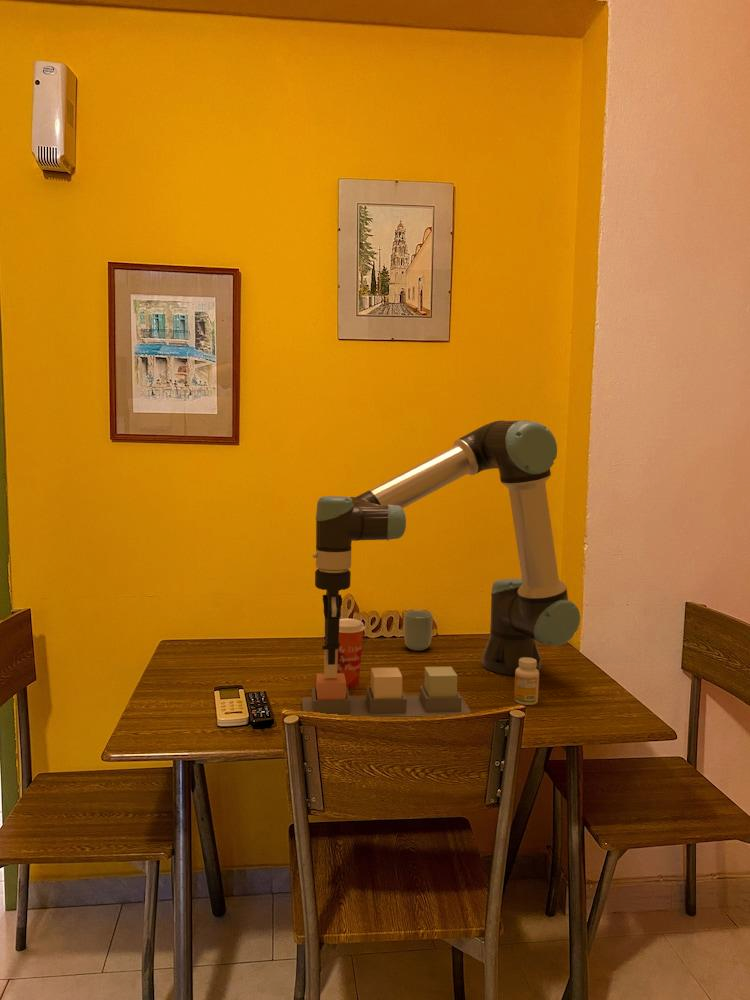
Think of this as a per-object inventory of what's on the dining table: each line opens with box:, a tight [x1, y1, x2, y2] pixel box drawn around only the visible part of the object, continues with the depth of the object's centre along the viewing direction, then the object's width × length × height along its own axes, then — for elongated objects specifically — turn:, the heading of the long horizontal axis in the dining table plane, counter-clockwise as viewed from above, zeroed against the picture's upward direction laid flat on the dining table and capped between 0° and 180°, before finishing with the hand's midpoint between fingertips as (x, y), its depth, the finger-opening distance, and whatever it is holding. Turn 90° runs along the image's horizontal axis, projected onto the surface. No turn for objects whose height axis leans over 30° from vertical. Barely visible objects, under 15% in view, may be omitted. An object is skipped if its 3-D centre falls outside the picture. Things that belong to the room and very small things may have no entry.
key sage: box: [423, 666, 458, 697], centre depth 163 cm, size 6×6×5 cm
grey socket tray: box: [301, 685, 472, 717], centre depth 162 cm, size 36×12×4 cm, turn 97°
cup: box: [403, 609, 434, 652], centre depth 207 cm, size 8×8×10 cm
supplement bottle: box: [513, 657, 540, 706], centre depth 170 cm, size 5×5×10 cm
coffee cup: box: [337, 617, 366, 688], centre depth 178 cm, size 8×8×15 cm
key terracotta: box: [315, 673, 346, 700], centre depth 160 cm, size 6×6×5 cm
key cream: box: [370, 667, 403, 699], centre depth 162 cm, size 6×6×5 cm
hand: (330, 677), depth 160 cm, fingers closed
